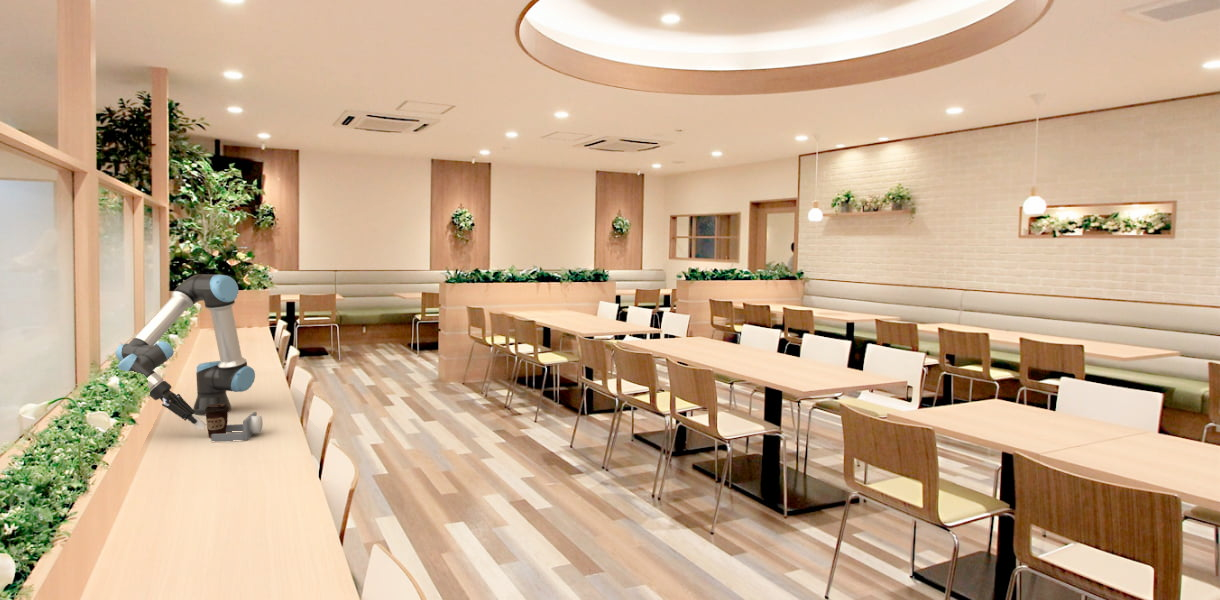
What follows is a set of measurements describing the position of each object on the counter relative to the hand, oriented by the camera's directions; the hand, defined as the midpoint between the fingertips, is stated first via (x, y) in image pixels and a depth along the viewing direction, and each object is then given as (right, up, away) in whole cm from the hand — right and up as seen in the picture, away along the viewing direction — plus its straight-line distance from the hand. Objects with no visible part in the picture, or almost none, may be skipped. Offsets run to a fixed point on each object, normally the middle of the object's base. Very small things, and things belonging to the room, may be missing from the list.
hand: (203, 427), depth 285 cm
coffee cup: (+4, -4, +3) cm, 7 cm away
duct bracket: (+12, -4, +4) cm, 14 cm away
